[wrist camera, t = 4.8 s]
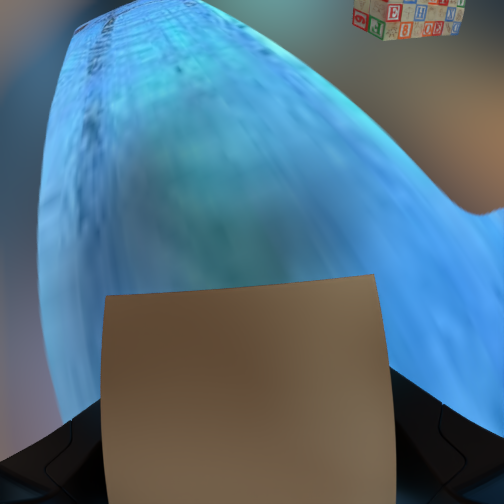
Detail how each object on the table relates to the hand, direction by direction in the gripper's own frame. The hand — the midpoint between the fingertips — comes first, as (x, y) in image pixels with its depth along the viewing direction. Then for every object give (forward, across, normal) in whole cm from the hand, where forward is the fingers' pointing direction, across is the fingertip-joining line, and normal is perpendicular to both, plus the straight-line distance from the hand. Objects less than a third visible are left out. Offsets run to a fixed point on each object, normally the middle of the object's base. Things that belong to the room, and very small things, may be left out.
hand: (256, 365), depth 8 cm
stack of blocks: (+36, -26, -25) cm, 51 cm away
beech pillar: (+4, 0, +6) cm, 7 cm away
